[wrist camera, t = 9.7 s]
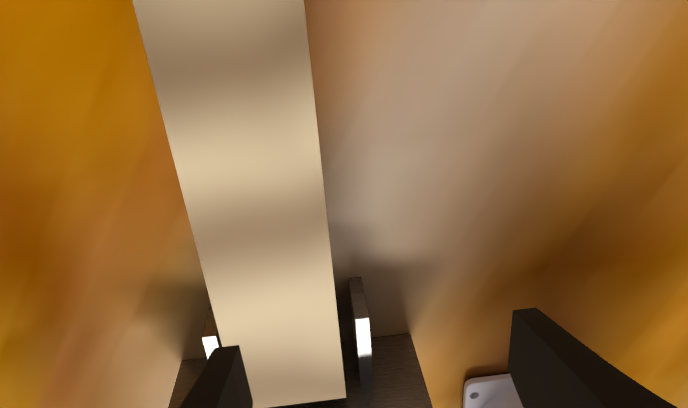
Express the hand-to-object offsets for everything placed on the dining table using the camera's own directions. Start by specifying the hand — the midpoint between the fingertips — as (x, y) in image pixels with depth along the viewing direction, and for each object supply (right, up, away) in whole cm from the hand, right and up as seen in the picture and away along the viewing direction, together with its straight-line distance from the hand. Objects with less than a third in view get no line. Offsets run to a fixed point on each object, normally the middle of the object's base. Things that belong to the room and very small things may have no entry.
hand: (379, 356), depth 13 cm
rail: (-4, +5, +8) cm, 10 cm away
